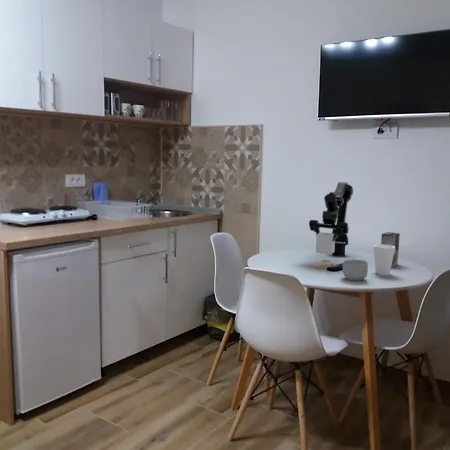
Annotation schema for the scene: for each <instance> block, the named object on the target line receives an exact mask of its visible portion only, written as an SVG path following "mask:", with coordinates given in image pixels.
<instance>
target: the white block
mask: <svg viewBox="0 0 450 450" xmlns="http://www.w3.org/2000/svg"><path fill="white" fill-rule="evenodd" d="M333 237H334V234H332V232H321V231H320V233H319V234H317V237H316V239H315V241H316V243H315V254H322V255H323V254H324V255H333V254H332V253H334V250H335V241H333Z"/></svg>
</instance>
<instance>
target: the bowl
mask: <svg viewBox="0 0 450 450" xmlns="http://www.w3.org/2000/svg"><path fill="white" fill-rule="evenodd" d="M320 263H321V266H324V267H328V266H329V263H330V260H327V259H321V260H320Z"/></svg>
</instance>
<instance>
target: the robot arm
mask: <svg viewBox="0 0 450 450" xmlns="http://www.w3.org/2000/svg"><path fill="white" fill-rule="evenodd" d="M353 193H354V189H353V186H352V185H351V184H349V183H348V182H345V181H344V182H342V181H339V182H337V185H336V188H335V190H334V192H333V191H329V193H328V194H326V195H325V196H324V199H323V200H324V204H325V205H324V206H325V208H326V210H323V211H322V215H321V218H322V223H321V222H319V220H318V219H310V220H309V222H308V225H309V229H310V231H313V232H314V233H315V235H316V238H317V234H319V233H320V232H321V231H320V228H323V229H329V230H331V229H332V231H331V233H332V234H334V237H333V241H335V250H334V253H332V254H331V255H333V256H334V257H346V246H348V245H349V237H348V233H349V223H348V222H346V218H347V210H348V203H349V202H350V201H351V199H352V196H353Z"/></svg>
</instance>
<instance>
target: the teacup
mask: <svg viewBox="0 0 450 450" xmlns="http://www.w3.org/2000/svg"><path fill="white" fill-rule="evenodd" d="M341 264H342V273H343V277H345V278H346V279H347V280H349V281H355V282H357V281H363V280H364V279H366V277H367V276H368V270H369V266H368V265H369V262H368V261H367V260H364V259H355V258H352V259H346V260H343V261H342V263H341Z"/></svg>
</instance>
